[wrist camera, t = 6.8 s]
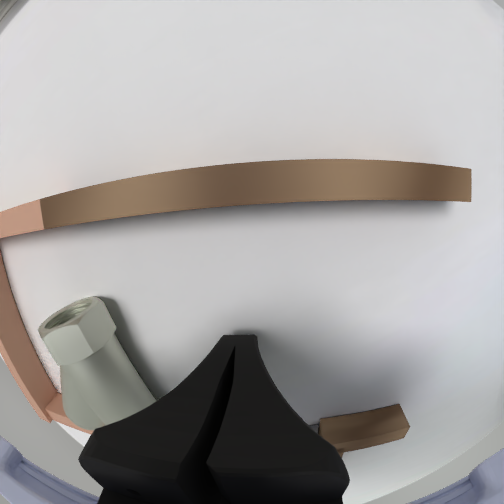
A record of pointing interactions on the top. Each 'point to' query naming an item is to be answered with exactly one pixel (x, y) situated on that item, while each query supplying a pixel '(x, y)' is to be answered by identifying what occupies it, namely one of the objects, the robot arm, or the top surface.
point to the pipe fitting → (93, 366)
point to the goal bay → (13, 331)
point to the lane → (273, 191)
